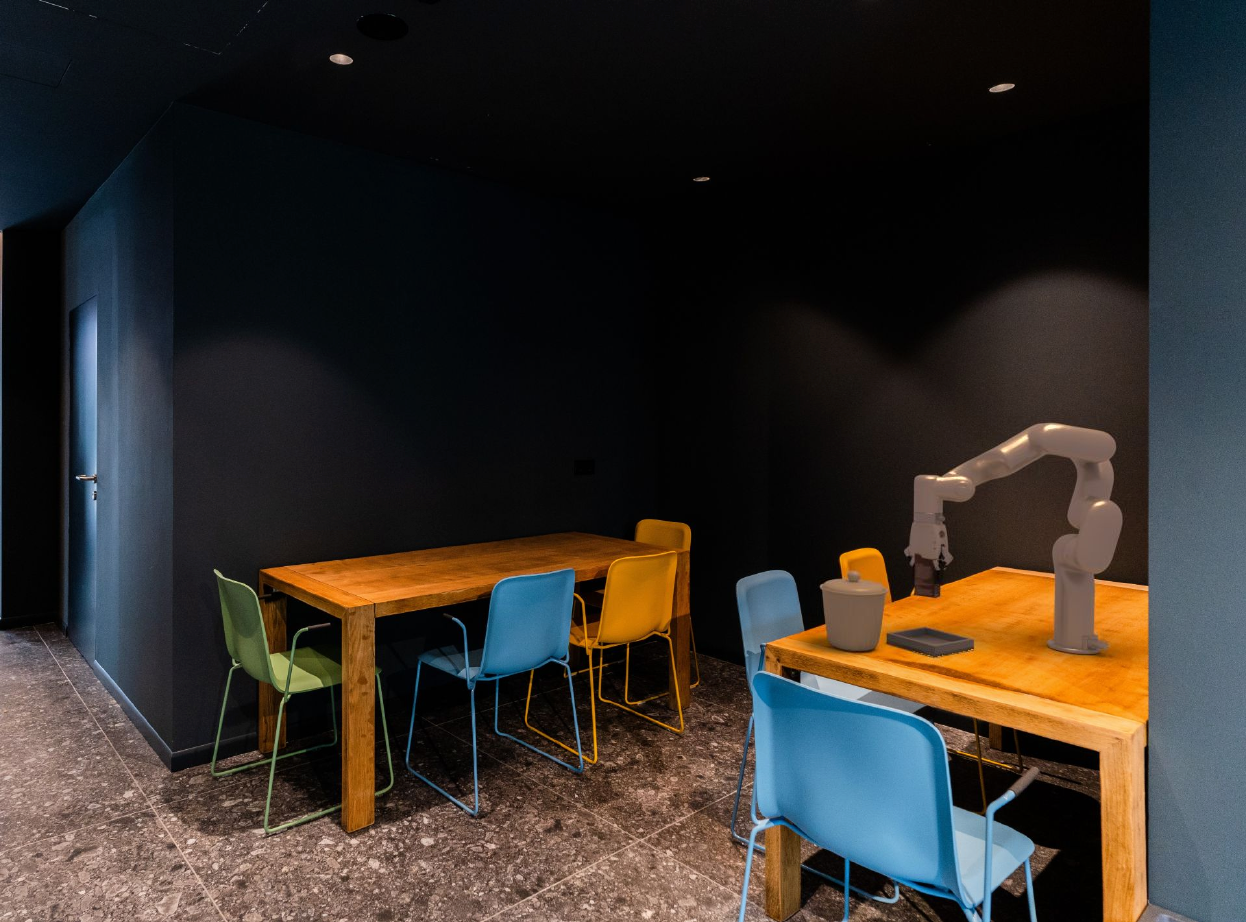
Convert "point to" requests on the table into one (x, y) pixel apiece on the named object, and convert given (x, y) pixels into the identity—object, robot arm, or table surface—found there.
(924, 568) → the box
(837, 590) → the canister
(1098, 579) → the table surface
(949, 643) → the tray
